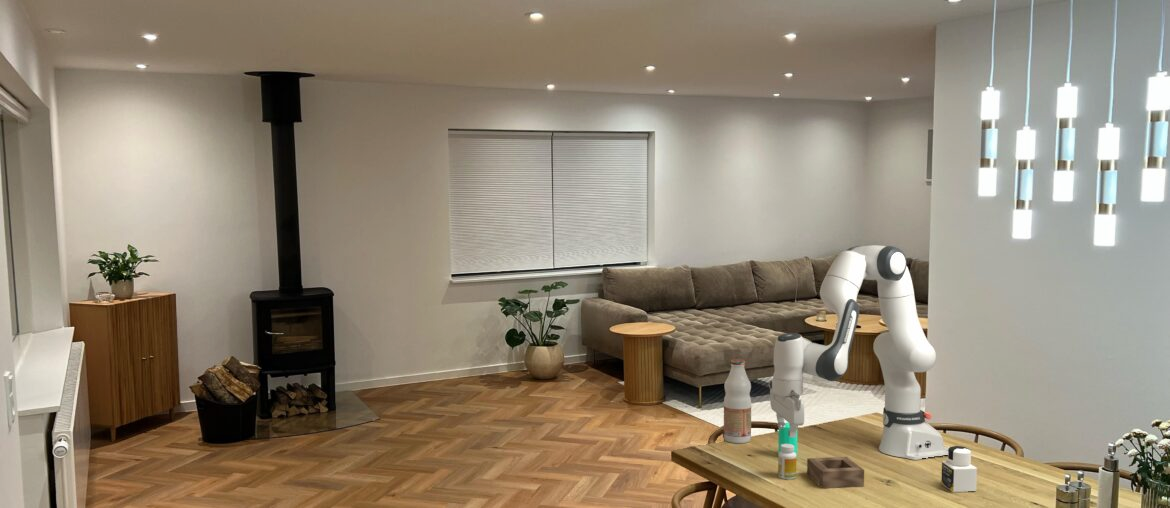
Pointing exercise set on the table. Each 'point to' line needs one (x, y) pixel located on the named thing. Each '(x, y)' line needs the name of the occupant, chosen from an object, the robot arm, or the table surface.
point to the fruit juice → (737, 404)
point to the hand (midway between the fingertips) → (786, 432)
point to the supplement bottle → (787, 462)
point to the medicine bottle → (959, 470)
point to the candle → (787, 438)
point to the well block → (835, 472)
